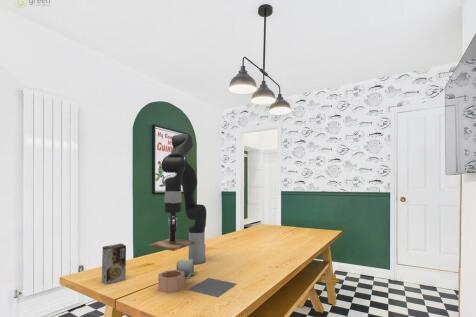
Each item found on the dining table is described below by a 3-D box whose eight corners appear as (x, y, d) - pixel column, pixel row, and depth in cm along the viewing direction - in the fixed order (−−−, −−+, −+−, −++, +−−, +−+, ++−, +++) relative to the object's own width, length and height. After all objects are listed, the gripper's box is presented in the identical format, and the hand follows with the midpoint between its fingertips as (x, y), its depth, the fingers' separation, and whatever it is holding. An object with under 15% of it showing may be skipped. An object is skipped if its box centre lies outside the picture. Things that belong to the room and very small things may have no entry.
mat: (208, 279, 129) (208, 277, 129) (237, 285, 122) (237, 283, 122) (186, 291, 115) (186, 289, 115) (218, 298, 108) (218, 297, 108)
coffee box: (120, 276, 134) (121, 243, 135) (125, 279, 129) (126, 245, 130) (100, 281, 127) (102, 246, 129) (105, 284, 123) (107, 248, 124)
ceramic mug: (177, 273, 137) (177, 258, 138) (193, 272, 138) (194, 257, 139) (175, 281, 127) (175, 265, 127) (192, 280, 128) (192, 264, 128)
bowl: (170, 281, 126) (170, 268, 126) (189, 286, 121) (189, 272, 121) (152, 290, 116) (153, 276, 117) (171, 295, 111) (172, 280, 111)
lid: (171, 240, 129) (171, 225, 130) (194, 243, 123) (194, 227, 123) (148, 247, 117) (149, 230, 118) (173, 251, 110) (173, 233, 111)
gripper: (164, 200, 127) (163, 237, 126) (164, 202, 114) (163, 244, 112) (180, 200, 129) (179, 236, 128) (182, 202, 116) (182, 243, 114)
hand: (172, 240), depth 120 cm, fingers closed on lid, 2 cm apart
